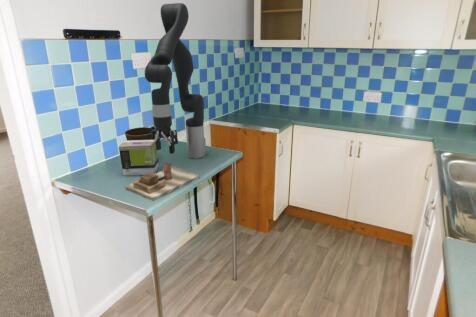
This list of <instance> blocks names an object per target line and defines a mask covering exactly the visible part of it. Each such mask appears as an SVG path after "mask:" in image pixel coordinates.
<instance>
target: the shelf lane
mask: <svg viewBox="0 0 476 317" xmlns="http://www.w3.org/2000/svg"><path fill="white" fill-rule="evenodd" d="M171 173H172V179H171V180H165V179H163V180H160V181H158V183H157V184H155V185H152V186H148V185H145V184H142V183H141V178H140V179H138V180H135V181H133V182H132V183H130V184H128V185H125V187H124V188H125V190H127V191H130V192H131V193H135V194H136V195H139V196H142V197H143V198H146V199H148V200H151V201H156V200H157V199H159V198H161V197H164V196H166V195H167V194H169V193H171V192H174V191H175V190H177V189H180V188H182V187H184V186H186V185H188V184H190V183H192V182H194V181H196V180H197V179H200V177H201V174H197V173H195V172H191V171H187V170H185V169H183V168H178V167H175V166H171ZM155 175H158V179H159V178H161V177H163V176H164V169H163V170H161V171H159V172H156V173H155Z"/></svg>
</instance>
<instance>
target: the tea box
mask: <svg viewBox="0 0 476 317" xmlns="http://www.w3.org/2000/svg"><path fill="white" fill-rule="evenodd" d="M118 150H119V156H120V164H121V169H122V174H123V175H122V176H143V175H145V174H148V173H152V174H156V173H157V171H158V170H159V157H158V150H156V144H155V141H154V140H127V139H126V140H124V141H123V142H122V143H121V144H120V145H119V146H118Z"/></svg>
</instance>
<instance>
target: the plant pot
mask: <svg viewBox="0 0 476 317" xmlns="http://www.w3.org/2000/svg"><path fill="white" fill-rule="evenodd" d="M124 136H125V139H126V141H127V140H152V139H151V127H147V126H143V127H133V128H130V129H127V130H126V131H125V132H124ZM154 136H155V134H154Z"/></svg>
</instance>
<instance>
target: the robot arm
mask: <svg viewBox="0 0 476 317" xmlns="http://www.w3.org/2000/svg"><path fill="white" fill-rule="evenodd" d="M160 18H161V22H162V26H163V30H164V33H165V34H164V35H163V36H162V37H161V38H160V40H159V41H158V44H157V46H156V49H155V52H154V55H153V56H152V57H151V59H150V60H149V62H148V63H147V65H146V66H145V68H144V77H145V80H146V81H147V82H148V83H152V84H153V83H154V84H161V85H160V87H159V88H155V89H152V91H151V94H150V95H151V105H152V107H151V108H152V111H151V112H152V121H153V122H152V123H153V125H152V126H150V128H151V139H152V140H154V141H155V144H156V150H157V151H160V150H162V141H161V139H164V140H165V142H167V144H168V149H169V150H168V152H169V154H171V155H172V154H175V152H176V151H175V145H178V144H179V140H178V130H177V129H174V130H172V129H171V127H172V125H173V121H172V120H173V119H172V117H173V116H172V109H171V104H170V103H171V102H170V99H171V98H170V89H171V83H172V79H173V71H172V68H171V67H170V64H173V69H174V72H175V76H176V77H175V78H176V82H177V88H178V95H179V101H180V107H181V109H182V111H183V112H185V113H193V116H192V117H189V118H187V119H186V120H185V133H186V147H187V157H188V158H190V159H195V160H196V159H201V158H204V157H205V156H206V155H207V144H206V142H207V141H206V137H205V130H204V129H205V127H204V119H205V101H204V100H205V99H204V97H203V96H202V95H201V94H195V93H190V91H189V83H190V80H191V78H192V75H193V73H194V62H193V56H192V54H191V51H190V50H189V48H188V47H187V46H186V45H185V44H184V43H183V41H181V37H182V35H183V32H184V31H185V29H186V26H187V25H188V21H189V10H188V8H187V5H186V4H185V3H182V2H177V3H176V2H175V3H174V2H173V3H163V4H162V5H161V8H160ZM154 134H155V136H154Z"/></svg>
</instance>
